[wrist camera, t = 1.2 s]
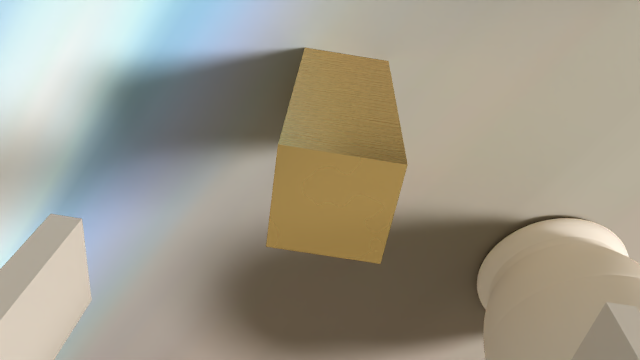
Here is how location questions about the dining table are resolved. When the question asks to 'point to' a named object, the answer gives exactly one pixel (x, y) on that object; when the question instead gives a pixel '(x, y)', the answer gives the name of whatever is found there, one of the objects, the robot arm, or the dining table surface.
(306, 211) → the gold rectangular block
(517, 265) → the jar
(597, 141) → the dining table surface
